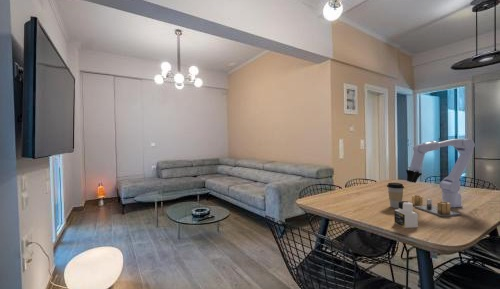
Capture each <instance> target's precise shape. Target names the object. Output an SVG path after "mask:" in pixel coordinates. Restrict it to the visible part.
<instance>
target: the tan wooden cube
mask: <svg viewBox="0 0 500 289" xmlns="http://www.w3.org/2000/svg"><path fill="white" fill-rule="evenodd" d="M411 203H412V204H413V206H423V196H422V195H418V194H412V195H411Z"/></svg>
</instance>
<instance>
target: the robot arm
mask: <svg viewBox="0 0 500 289" xmlns="http://www.w3.org/2000/svg"><path fill="white" fill-rule="evenodd" d="M450 146H451V147H453V148H454V149H455V150H456V151H457V152H458V153H459V155H458V158H457V160H456V161H455V164H453V167H452V168H451V171H450V173H449V175H447V176H445V177H444V178H443V179H442V180H441V181H440V182H439V184H438V186H439V188H440V189H441V191H442V192H441V196H442V198H441V200H442V201H443V202H448V203H450V208H460V207H463V205H462V194H461V193H460V192H459V191H460V189H461V185H462V182H461V181H460V180H461V177H462V175H463V173H464V172H465V170H466V168H467V166H468V164H469V163H470V162H471V159H472V157H473V155H474V148H475V147H476V144H475V142H474V140H473V139H472V138H452V139H447V140H442V141H439V142H438V141H436V140H430V141H429V142H422V143H417V144H415V145H414V146H413V147H412V150H413V154H412V159H411V162H410V166H407V169H406V170H405V171H406V176H407V177H406V180H407V182H408V183H414V184H416V182H417V181H418V180H419V178H420V176H422V175H423V173H422V172H421V170H422V169H421V168H422V166H423V161H424V158H425V154H427V153H428V152H433V151H437V150H439V149H440V148H444V147H445V148H446V147H450Z"/></svg>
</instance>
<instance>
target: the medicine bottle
mask: <svg viewBox="0 0 500 289" xmlns="http://www.w3.org/2000/svg"><path fill="white" fill-rule="evenodd" d="M418 215H419V214H418V213H417V212H415V211H414V205H413V204H412V201H408V200H407V201H406V200H402V201H400V202H399V208H398V209H394V218H393V219H394V224H396V225H398V226H400V227H402V228H403V229H411V228H413V229H414V228H418V225H419V224H418Z"/></svg>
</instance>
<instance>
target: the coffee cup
mask: <svg viewBox="0 0 500 289" xmlns="http://www.w3.org/2000/svg"><path fill="white" fill-rule="evenodd" d="M386 187H387V188H388V199H389V206H390V208H393V209H399V202H400V201H403V195H404V188H405V185H404V184H403V183H399V182H389V183H387V184H386Z"/></svg>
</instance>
